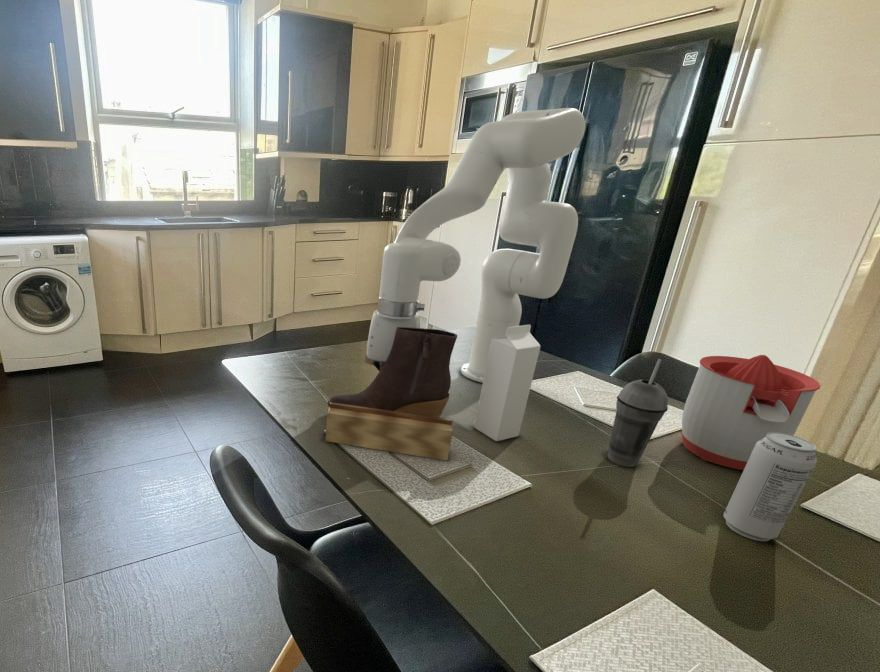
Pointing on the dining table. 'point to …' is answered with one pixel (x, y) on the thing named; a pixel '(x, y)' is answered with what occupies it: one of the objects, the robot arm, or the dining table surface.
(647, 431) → the beverage cup
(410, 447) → the wooden block
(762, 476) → the energy drink can
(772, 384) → the citrus juicer
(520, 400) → the milk
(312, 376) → the dining table surface
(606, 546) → the dining table surface
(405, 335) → the boot
